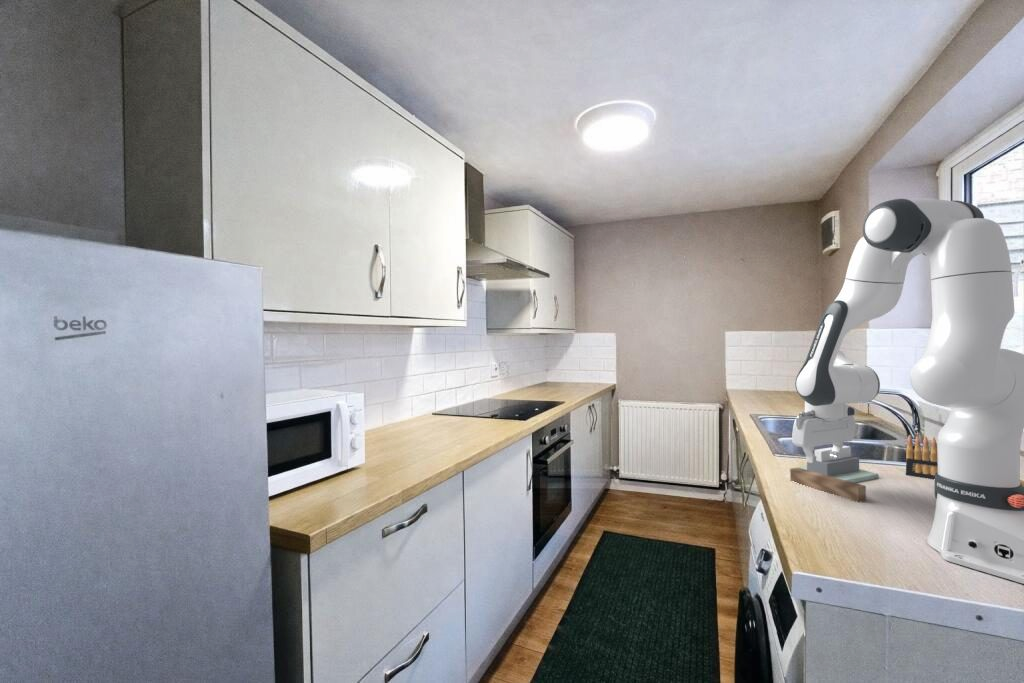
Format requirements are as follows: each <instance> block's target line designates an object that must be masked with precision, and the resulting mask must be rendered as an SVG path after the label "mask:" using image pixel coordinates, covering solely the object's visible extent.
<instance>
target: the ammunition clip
mask: <svg viewBox="0 0 1024 683" xmlns="http://www.w3.org/2000/svg"><path fill="white" fill-rule="evenodd" d="M907 436H908V437H907V440H906V441H907V442H906V449H905V452H906V456H905V457H906V460H905V462H906V464H905V465H906V466H905V475H906V476H909V477H915V478H922V479H927V478H928V479H929V480H934V479H935V473H936V472H938V457H937V439H936V438H935V437H932V439H931V443H930V445H929V440H928V437H927V436H924V438H923V441H922V446H921V438H920V436H919V435H916V437H915V442H914V445H913V438H912V435H911V434H909V435H907ZM929 446H930V448H929Z"/></svg>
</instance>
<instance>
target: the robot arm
mask: <svg viewBox="0 0 1024 683" xmlns="http://www.w3.org/2000/svg"><path fill="white" fill-rule="evenodd" d="M919 255H923V256H926V257H927V259H928V262H929V267H930V268H929V272H930V288H931V290H930V294H931V312H932V314H931V316H932V317H931V325H930V330H929V335H928V338H927V342H926V345H925V347H924V351H923V353H922V356H920V358H919V359H918V360H917V362H915V363H914V365H913V367H912V368H911V371H910V377H909V380H910V385H911V387H912V389H913V391H914V392H915V394H916V395H917V396H918V397H920V398H921V399H922V400H924V401H926V402H928V403H929V404H932V405H937V406H940V407H943V408H944V407H945V408H951V409H950V411H949V412H950V413H949V415H948V417H947V420H946V421H945V423H944V425H943V426H942V427H941V428H940V429H939V431H938V434H937V439H936V444H937V457H938V472H936V473H935V480H934V484H933V489H934V498H935V501H936V503H935V510H934V516H933V522H932V525H931V529H930V532H929V535H928V536H927V538H926V542H927V544H928V545H929V546H930V547H931V548H933V549H934V550H935V551H937V552H938V553H939V554H940V555H941V558H942V559H943V560H944V561H947V562H950V563H953V564H956V565H960V566H963V567H966V568H970V569H973V570H976V571H980V572H983V573H986V574H989V575H994V576H995V577H999V578H1004V579H1007V580H1011V581H1013V582H1016V583H1020V584H1023V585H1024V485H1022V483H1021V443H1022V437H1023V433H1024V353H1021V352H1018V351H1015V350H1013V349H1007V348H1001V347H1002V342H1003V338H1004V335H1005V331H1006V329H1007V326H1008V325H1009V323H1010V322H1011V320H1012V319H1013V318H1014V316H1015V300H1014V284H1013V272H1012V263H1011V257H1010V252H1009V247H1008V243H1007V241H1006V237H1005V234H1004V232H1003V230H1002V227H1001V226H1000V225H999V223H998V222H996V221H994V220H991V219H988V218H985V216H984V213H983V211H982V210H981V209H980V208H978V207H977V206H975V205H974V204H972V203H969V202H966V201H962V200H947V199H946V200H945V199H938V198H937V199H936V198H932V197H931V198H930V197H919V198H916V197H915V198H908V199H907V198H896V199H895V198H894V199H890V200H886V201H883V202H881V203H878V204H877V205H875V206H874V207H872V208H871V209H870V210H869V211H868V213H867V214H866V216H865V218H864V220H863V224H862V237H860V239H859V240H858V241H857V243H856V244H855V247H854V249H853V251H852V254H851V257H850V260H849V263H848V266H847V269H846V274H845V277H844V278H845V279H844V282H843V286H842V288H841V290H840V292H839V294H838V295H837V297H836V298H835V299H834V301H833V302H831V303H829V304H828V305H827V307H826V308H825V310H824V311H823V314H822V316H821V318H820V320H819V323H818V326H817V328H816V330H815V333H814V337H813V339H812V342H811V346H810V348H809V350H808V353H807V355H806V359H805V360H804V363H803V365H802V367H800V369H799V371H798V373H797V375H796V379H795V384H794V385H795V390H796V393H797V394H798V395H799V396H800V397H801V399H803V401H804V411H801V412H799V414H798V415H797V416H796V417H795V420H794V421H793V422H794V423H793V425H792V426H793V427H792V434H791V435H792V436H791V442H792V444H793V445H794V446H795V447H799V448H802V451H803V452H804V454H805V460H806V463H807V462H809V463H814V462H816V456H815V453H814V452H813V451H815V447H821V446H826V445H832V447H833V448H832V451H830V457H831V458H834V459H838V458H840V452H841V450H842V447H843V446H844V443H847V442H852V441H854V438H855V435H856V418H855V416H856V415H857V409H856V407H854V406H851V405H849V404H857V403H858V404H860V403H861V404H862V403H867V402H871V401H873V400H874V399H875V398H876V397H877V396H878V394H879V392H880V389H881V383H880V377H879V375H878V374H877V372H876V371H875V370H874V369H873V368H871V367H869V366H867V365H863V364H861V363H858V362H856V361H854V360H852V359H849V358H848V357H847V356H846V355H845V353H843V351H841V350H840V348H841V345H842V343H843V341H844V338H845V337H846V335H847V334H848V333H849V332H851V330H853V329H854V328H856V327H858V326H860V325H862V324H865V323H867V322H870V321H872V320H875V319H879V318H881V317H883V316H885V315H886V314H888V313H890V312H891V311H892V310H894V309H895V307H896V306H897V305H898V302H899V301H900V300H901V296H902V292H903V289H904V285H905V280H906V275H907V270H908V267H909V264H910V262H911V261H912V260H913V259H914V258H916V257H917V256H919Z"/></svg>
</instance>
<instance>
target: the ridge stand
mask: <svg viewBox="0 0 1024 683" xmlns="http://www.w3.org/2000/svg"><path fill="white" fill-rule="evenodd" d="M832 448H833V446H832V447H831V446H830V447H825V448H818V449H814V456H816V462H814V463H809V462H807V461H806V465H803V466H797V467H798V468H802V469H805V470H809V471H813V472H817V473H820V474H824V475H828V476H831V477H835V478H839V479H842V480H846V481H850V482H853V483H860V482H864V481H869V480H875V478H876V479H879V473H877V472H873V471H868V470H865V469H861V468H860V458H859V457H856V456H852V447H851V446H849V445H848V446H847V445H843V447H842V450H841V452H840V458H838V459H834V458H831V457H830V451H832ZM797 467H795V468H797ZM791 468H792V467H791ZM791 468H789V470H790V469H791Z"/></svg>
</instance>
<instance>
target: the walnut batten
mask: <svg viewBox="0 0 1024 683" xmlns="http://www.w3.org/2000/svg"><path fill="white" fill-rule="evenodd" d="M798 467H799V466H797V468H796V467H791V469H790V468H789V474H790V475H789V476H790V482H791V481H794V482H797V483H799V484H798V485H800V484H802V485H801V486H803V485H805V486H804V487H807V486H808V487H807V488H810V487H811V488H810V489H813V488H814V490H816V489H817V491H819V492H823V491H824V493H826V492H827V494H830V495H833V494H834V496H836V495H837V497H839V496H841V497H840V498H843V497H844V499H846V498H847V499H846V500H849V499H850V500H849V501H853V500H854V501H853V502H856V501H857V502H856V503H861V502H864V501H865V500H866V501H867V495H866V494H867V493H866V492H867V488H866V487H867V486H866V485H865V484H864V485H863V484H860V483H858V482H855V483H853V482H850V481H846V480H842V479H839V478H835V477H831V476H828V475H824V474H820V473H817V472H813V471H809V470H805V469H802V468H798ZM797 483H796V484H797ZM860 501H861V502H860ZM866 501H865V502H866Z"/></svg>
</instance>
